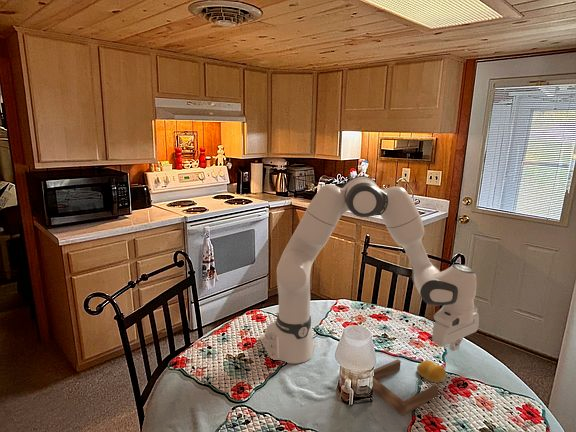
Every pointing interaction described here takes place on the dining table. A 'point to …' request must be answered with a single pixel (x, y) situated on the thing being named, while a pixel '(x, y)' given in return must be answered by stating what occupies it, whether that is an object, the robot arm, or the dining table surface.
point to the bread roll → (431, 371)
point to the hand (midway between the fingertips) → (454, 349)
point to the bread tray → (391, 398)
